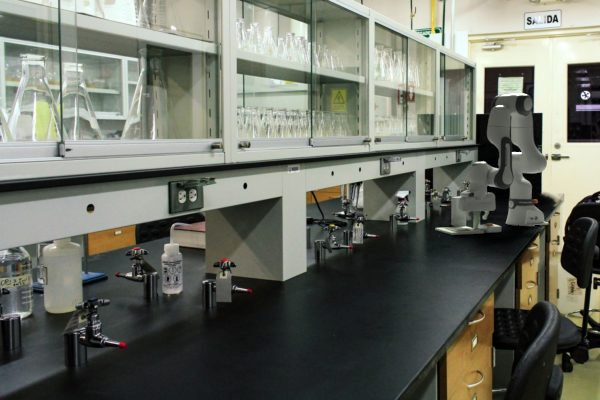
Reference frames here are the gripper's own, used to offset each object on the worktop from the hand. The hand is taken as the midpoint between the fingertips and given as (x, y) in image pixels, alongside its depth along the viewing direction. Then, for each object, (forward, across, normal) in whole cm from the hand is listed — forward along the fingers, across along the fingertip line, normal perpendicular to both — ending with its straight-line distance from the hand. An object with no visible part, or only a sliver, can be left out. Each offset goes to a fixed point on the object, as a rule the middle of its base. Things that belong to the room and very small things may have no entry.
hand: (476, 219), depth 320 cm
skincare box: (+5, +4, -11) cm, 13 cm away
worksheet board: (+5, +14, +6) cm, 16 cm away
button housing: (+5, -1, +10) cm, 11 cm away
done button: (+3, -1, +10) cm, 11 cm away
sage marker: (+5, 0, 0) cm, 5 cm away
